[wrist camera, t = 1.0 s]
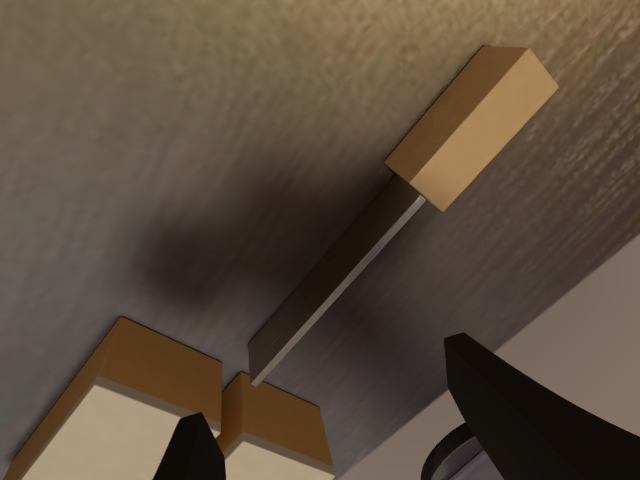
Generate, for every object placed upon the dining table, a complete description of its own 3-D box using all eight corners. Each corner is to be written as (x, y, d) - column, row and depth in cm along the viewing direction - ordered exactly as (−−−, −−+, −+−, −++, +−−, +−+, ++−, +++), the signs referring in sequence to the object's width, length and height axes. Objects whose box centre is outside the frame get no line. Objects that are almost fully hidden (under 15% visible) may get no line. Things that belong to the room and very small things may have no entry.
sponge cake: (319, 407, 26) (336, 476, 22) (213, 516, 28) (210, 595, 24) (121, 315, 20) (94, 385, 16) (12, 460, 23) (-34, 551, 19)
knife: (482, 45, 18) (529, 46, 15) (510, 79, 19) (560, 86, 16) (233, 337, 22) (234, 380, 19) (266, 353, 23) (271, 397, 20)
